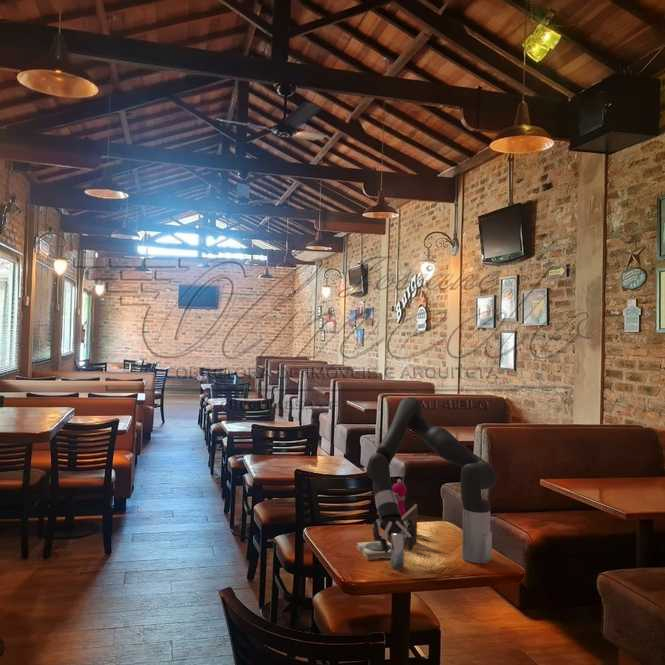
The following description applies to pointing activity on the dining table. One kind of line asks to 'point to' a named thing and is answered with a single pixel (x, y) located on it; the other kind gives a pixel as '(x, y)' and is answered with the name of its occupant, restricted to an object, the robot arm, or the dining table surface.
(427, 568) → the dining table surface
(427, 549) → the dining table surface
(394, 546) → the axle
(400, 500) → the pepper mill
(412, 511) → the wooden block
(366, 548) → the rest block
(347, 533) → the dining table surface
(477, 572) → the dining table surface
